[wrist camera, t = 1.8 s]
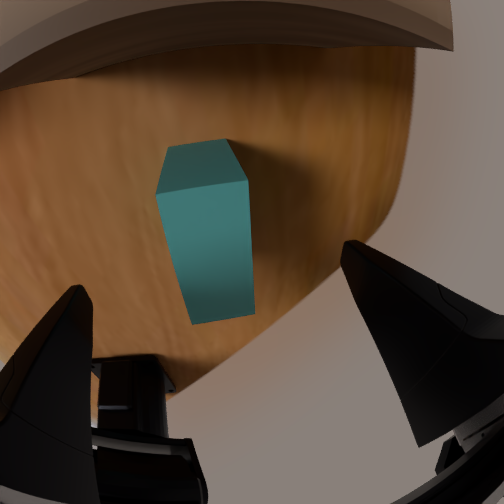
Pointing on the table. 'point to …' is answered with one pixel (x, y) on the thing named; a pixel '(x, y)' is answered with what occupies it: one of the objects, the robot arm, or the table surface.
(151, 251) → the table surface
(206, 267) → the teal block
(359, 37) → the wooden box
